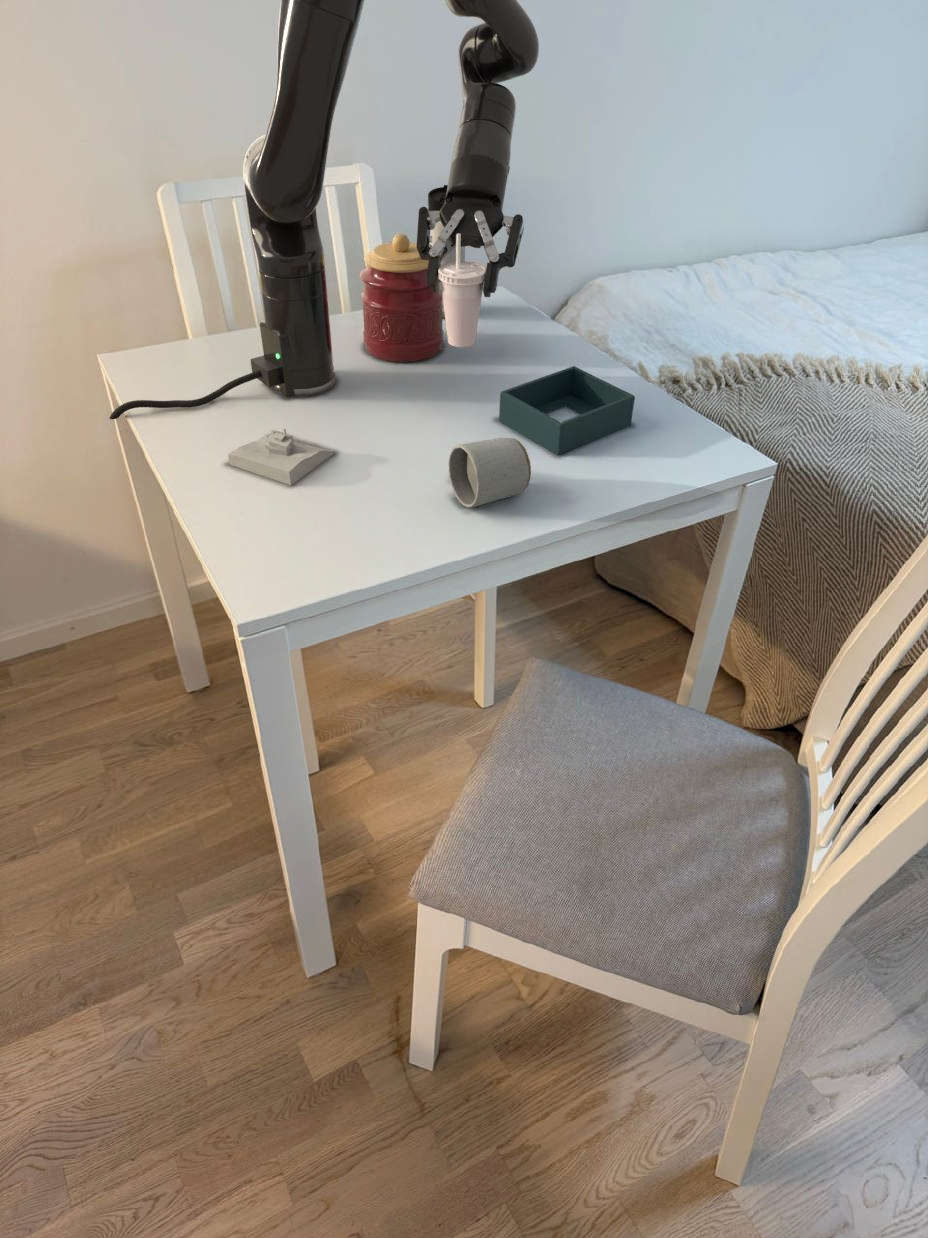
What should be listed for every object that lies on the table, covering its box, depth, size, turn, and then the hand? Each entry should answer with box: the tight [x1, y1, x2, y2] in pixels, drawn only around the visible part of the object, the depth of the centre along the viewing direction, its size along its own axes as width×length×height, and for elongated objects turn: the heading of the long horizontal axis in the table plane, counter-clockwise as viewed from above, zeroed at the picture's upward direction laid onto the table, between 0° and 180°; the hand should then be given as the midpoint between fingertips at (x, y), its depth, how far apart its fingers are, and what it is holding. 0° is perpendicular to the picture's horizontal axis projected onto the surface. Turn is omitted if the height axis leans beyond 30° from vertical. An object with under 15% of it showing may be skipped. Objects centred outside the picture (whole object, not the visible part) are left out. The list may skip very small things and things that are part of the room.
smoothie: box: [438, 234, 487, 348], centre depth 116 cm, size 6×6×14 cm
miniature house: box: [227, 428, 335, 486], centre depth 115 cm, size 12×11×4 cm
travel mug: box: [427, 184, 466, 319], centre depth 150 cm, size 6×7×20 cm
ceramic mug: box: [448, 437, 532, 509], centre depth 109 cm, size 11×8×8 cm
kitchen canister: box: [359, 233, 444, 363], centre depth 139 cm, size 13×13×18 cm
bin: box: [498, 365, 636, 456], centre depth 124 cm, size 14×12×4 cm
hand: (459, 291), depth 114 cm, fingers closed on smoothie, 6 cm apart
